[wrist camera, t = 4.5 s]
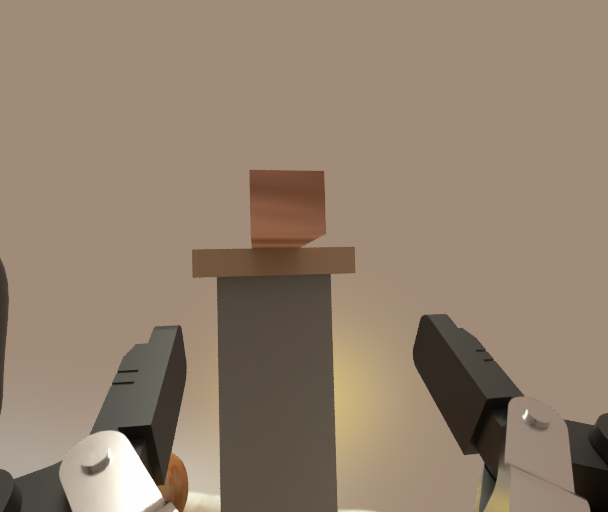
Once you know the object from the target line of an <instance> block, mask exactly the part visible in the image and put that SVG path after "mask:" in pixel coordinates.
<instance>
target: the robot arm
mask: <svg viewBox="0 0 608 512" xmlns="http://www.w3.org/2000/svg"><path fill="white" fill-rule="evenodd" d="M8 300H9V297H8V282H7V277H6V273H5V268H4V266H3V264H2V261H1V259H0V413H1V408H2V399H3V373H4V358H5V345H6V334H7V322H8V303H9V301H8ZM413 360H414V364H415V366H416V368H417V370H418V372H419V374H420V375H421V377H422V379H423V381H424V383H425V385H426V386H427V388H428V390H429V392H430V394H431V396H432V397H433V399H434V401H435V403H436V405H437V407H438V408H439V410H440V412H441V414H442V416H443V417H444V419H445V421H446V422H447V425H448V427H449V428H450V430H451V432H452V434H453V435H454V437H455V439H456V441H457V443H458V445H459V446H460V448H461V450H462V452H463V454H464V455H469V454H478V453H479V454H480V456H481V457H482V459H483V462H482V464H481V468H480V475H479V483H478V490H477V498H476V506H475V512H608V413H606V414H603V415H601V416H600V417H599V418H598V420H597V421H596V423H595V425H589V424H584V423H579V422H574V421H569V420H564V419H563V418H562V417H561V416H560V415H559V414H558V413H557V412H556V411H555V410H554V409H552V408H551V407H550V406H548V405H547V404H545V403H543V402H541V401H539V400H536V399H534V398H530V397H525V396H524V395H523V394H522V393H521V391H520V390H519V389H518V388H517V387H516V385H515V384H514V383H513V382H512V381H511V379H510V378H509V377H508V376H507V375H506V373H505V372H504V371H503V370H502V369H501V367H500V366H499V365H498V364H497V363H496V362H495V361H494V360H493V358H492V357H491V355H490V354H489V353H488V352H486V350H485V348H484V347H483V346H482V344H481V343H480V342H479V341H478V340H477V339H476V338H475V337H474V336H473V335H471V334H470V333H468V332H467V331H465V330H464V329H463V328H457V327H456V325H455V324H454V323H453V321H452V320H451V319H450V318H449V317H448V315H446V314H434V315H424V316H422V317H421V320H420V323H419V328H418V332H417V335H416V340H415V344H414V348H413ZM185 381H186V357H185V350H184V342H183V335H182V329H181V326H180V325H178V326H156V327H155V328H154V329H153V332H152V334H151V337H150V340H149V343H148V344H136V345H135V346H134V347H133V348H132V349H131V350H130V351H129V352H128V353H127V354H126V355H125V356H124V357H123V359H122V362H121V364H120V366H119V369H118V373H117V374H116V376H115V378H114V380H113V382H112V386H111V387H110V390H109V392H108V394H107V396H106V399H105V401H104V403H103V406H102V408H101V410H100V412H99V415H98V417H97V419H96V422H95V424H94V426H93V429H92V431H91V433H90V435H89V436H88V437H86V438H84V439H83V440H81V441H80V442H78V443H77V444H76V445H75V446H74V447H73V448H72V449H71V450H70V451H69V452H68V453H67V454H66V456H65V457H64V459H63V460H62V461H60V462H58V463H56V464H54V465H52V466H49V467H47V468H44V469H41V470H38V471H35V472H33V473H30V474H27V475H25V476H22V477H19V478H16V479H13V478H12V476H11V474H10V473H8V472H7V471H5V470H2V469H0V512H178V511H177V509H176V508H175V506H174V505H173V504H172V503H171V502H170V501H165V499H164V498H163V497H162V495H161V493H160V492H159V490H158V488H157V487H156V486H160V485H165V480H166V475H167V470H168V466H169V461H170V456H171V451H172V446H173V441H174V436H175V431H176V426H177V421H178V416H179V411H180V407H181V401H182V396H183V392H184V387H185Z"/></svg>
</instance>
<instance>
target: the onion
mask: <svg viewBox="0 0 608 512" xmlns="http://www.w3.org/2000/svg"><path fill="white" fill-rule="evenodd" d="M156 487H157V488H158V490H159V492H160V493H161V495H162V497H163V498H164V499H165V501H170V502H171V503H172V504H173V505H174V506H175V508H176V509H177V511H178V512H183V510H184V507H185V504H186V501H187V496H188V477H187V472H186V469H185V466H184V464H183V462H182V461H181V460H180V459H179V458H178V456H176V455H175V454H173V453H172V452H171V456H170V461H169V466H168V470H167V475H166V480H165V485H160V486H156Z"/></svg>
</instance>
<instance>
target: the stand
mask: <svg viewBox="0 0 608 512" xmlns="http://www.w3.org/2000/svg"><path fill="white" fill-rule="evenodd" d="M192 258H193V259H192V262H193V278H196V277H217V302H218V303H217V305H218V362H219V363H218V368H219V422H220V423H219V426H220V427H219V429H220V485H221V488H220V489H221V512H337V480H336V446H335V414H334V413H335V411H334V377H333V343H332V311H331V276H330V275H331V274H339V273H355V248H354V247H320V248H262V249H207V250H206V249H204V250H192Z"/></svg>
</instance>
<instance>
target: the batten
mask: <svg viewBox="0 0 608 512" xmlns="http://www.w3.org/2000/svg"><path fill="white" fill-rule="evenodd" d="M324 190H325V189H324V171H278V170H276V171H275V170H250V214H251V215H250V216H251V242H252V249H262V248H300V247H302V246H304V245H305V244H307V243H309V242H311V241H313V240H315V239H317V238H319V237H321V236H322V235H325V234H326V225H325V224H326V223H325V191H324Z"/></svg>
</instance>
